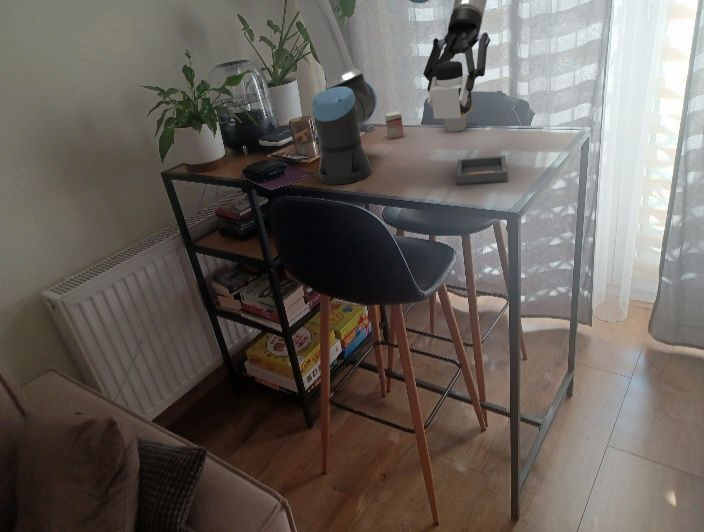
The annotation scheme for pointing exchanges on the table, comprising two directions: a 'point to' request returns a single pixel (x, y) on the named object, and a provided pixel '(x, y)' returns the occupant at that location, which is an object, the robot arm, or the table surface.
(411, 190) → the table surface
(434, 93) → the medicine bottle
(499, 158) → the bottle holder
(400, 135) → the small box
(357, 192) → the table surface
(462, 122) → the coffee cup
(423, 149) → the table surface
